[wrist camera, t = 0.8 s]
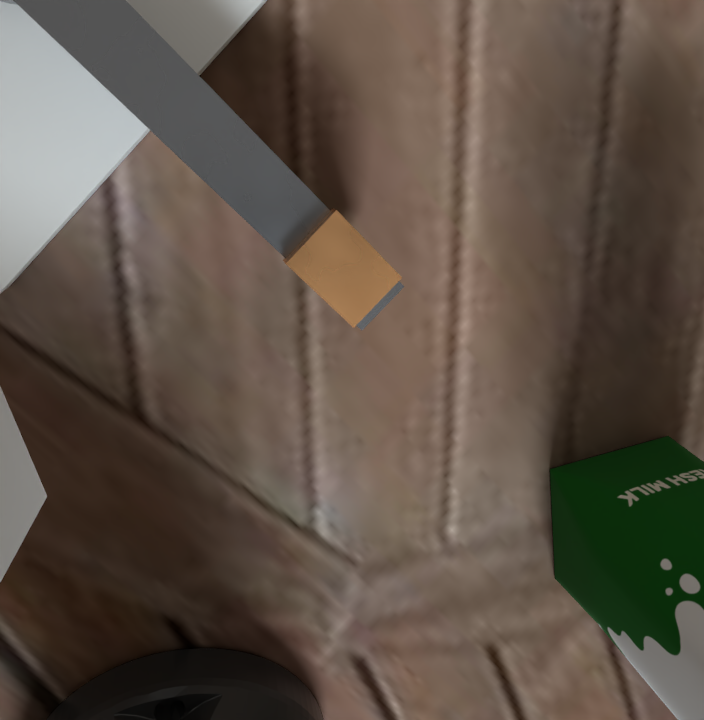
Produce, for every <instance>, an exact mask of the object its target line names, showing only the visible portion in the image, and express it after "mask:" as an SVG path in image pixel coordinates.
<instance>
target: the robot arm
mask: <svg viewBox="0 0 704 720" xmlns="http://www.w3.org/2000/svg"><path fill="white" fill-rule="evenodd" d="M46 498H47V494H46V492H45V490H44V487H43V485H42V483H41V480H40V478H39V476H38V473H37V471H36V469H35V466H34V464H33V462H32V459H31V457H30V455H29V452H28V450H27V448H26V445H25V443H24V441H23V438H22V436H21V434H20V431H19V429H18V427H17V424H16V422H15V419H14V417H13V415H12V412H11V410H10V408H9V405H8V403H7V401H6V398H5V396H4V394H3V391H2V389H1V387H0V582H1V581H2V579H3V577H4V575H5V573H6V571H7V570H8V568H9V566H10V564H11V562H12V560H13V559H14V557H15V555H16V553H17V551H18V549H19V548H20V546H21V544H22V542H23V540H24V538H25V536H26V535H27V533H28V531H29V529H30V527H31V525H32V524H33V522H34V520H35V518H36V516H37V514H38V513H39V511H40V509H41V507H42V505H43V503H44V502H45V500H46ZM46 720H323V716H322V713H321V710H320V708H319V706H318V703H317V702H316V700H315V698H314V696H313V695H312V694H311V692H310V691H309V689H308V688H307V687H306V686H305V685H304V684H303V683H302V682H301V681H300V680H299V679H298V678H297V677H295V676H294V675H293V674H292V673H290V672H289V671H287V670H286V669H284V668H283V667H281V666H279V665H277V664H275V663H273V662H271V661H269V660H266V659H264V658H261V657H258V656H255V655H251V654H248V653H244V652H239V651H233V650H225V649H213V648H197V649H183V650H175V651H169V652H163V653H158V654H154V655H150V656H146V657H143V658H139V659H137V660H134V661H131V662H128V663H125V664H123V665H121V666H118V667H116V668H114V669H112V670H109V671H107V672H105V673H103V674H102V675H100V676H98V677H96V678H94V679H93V680H91V681H90V682H88V683H86V684H85V685H83V686H82V687H81V688H79V689H78V690H76V691H75V692H74V693H72V694H71V695H70V696H69V697H68V698H66V699H65V700H64V701H63V702H62V703H61V704H60V705H59V706H58V707H57V708H56V709H55V710H54V711H53V712H52V713H51V714H50V716H49V717H48V718H47V719H46Z"/></svg>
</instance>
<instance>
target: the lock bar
mask: <svg viewBox="0 0 704 720" xmlns="http://www.w3.org/2000/svg"><path fill="white" fill-rule="evenodd" d="M0 1H2V2H5V3H9V4H17V5H19V6H20V7H21V8H22V9H23V10H24V11H25V12H26V13H27V14H28V15H29V16H30V17H31V18H32V19H33V20H34V21H36V22H37V23H38V24H39V25H40V26H41V27H42V28H43V29H44V30H45V31H46V32H47V33H48V34H49V35H50V36H51V37H52V38H53V39H55V40H56V41H57V42H58V43H59V44H60V45H61V46H62V47H63V48H64V49H65V50H66V51H67V52H68V53H69V54H70V55H71V56H73V57H74V58H75V59H76V60H77V61H78V62H79V63H80V64H81V65H82V66H83V67H84V68H85V69H86V70H87V71H88V72H89V73H90V74H92V75H93V76H94V77H95V78H96V79H97V80H98V81H99V82H100V83H101V84H102V85H103V86H104V87H105V88H106V89H107V90H108V91H109V92H111V93H112V94H113V95H114V96H115V97H116V98H117V99H118V100H119V101H120V102H121V103H122V104H123V105H124V106H125V107H126V108H127V109H128V110H130V111H131V112H132V113H133V114H134V115H135V116H136V117H137V118H138V119H139V120H140V121H141V122H142V123H143V124H144V125H145V126H146V127H148V128H149V129H150V130H151V131H152V132H153V133H154V134H155V135H156V136H157V137H158V138H159V139H160V140H161V141H162V142H163V143H164V144H165V145H167V146H168V147H169V148H170V149H171V150H172V151H173V152H174V153H175V154H176V155H177V156H178V157H179V158H180V159H181V160H182V161H183V162H184V163H186V164H187V165H188V166H189V167H190V168H191V169H192V170H193V171H194V172H195V173H196V174H197V175H198V176H199V177H200V178H201V179H202V180H203V181H205V182H206V183H207V184H208V185H209V186H210V187H211V188H212V189H213V190H214V191H215V192H216V193H217V194H218V195H219V196H220V197H221V198H223V199H224V200H225V201H226V202H227V203H228V204H229V205H230V206H231V207H232V208H233V209H234V210H235V211H236V212H237V213H238V214H239V215H240V216H242V217H243V218H244V219H245V220H246V221H247V222H248V223H249V224H250V225H251V226H252V227H253V228H254V229H255V230H256V231H257V232H258V233H259V234H261V235H262V236H263V237H264V238H265V239H266V240H267V241H268V242H269V243H270V244H271V245H272V246H273V247H274V248H275V249H276V250H277V251H278V252H280V253H281V254H282V255H283V256H284V257H285V259H284V260H283V261H284V262H285V264H286V265H288V266H289V267H290V268H291V269H292V270H293V271H294V272H295V273H296V274H297V275H298V276H299V277H300V278H301V279H302V280H303V281H304V282H306V283H307V284H308V285H309V286H310V287H311V288H312V289H313V290H314V291H315V292H316V293H317V294H318V295H319V296H320V297H321V298H323V299H324V300H325V301H326V302H327V303H328V304H329V305H330V306H331V307H332V308H333V309H334V310H335V311H336V312H337V313H338V314H340V315H341V316H342V317H343V318H344V319H345V320H346V321H347V322H348V323H349V324H350V325H351V326H352V327H353V328H354V327H355V326H356V325H357V326H358V327H359V328H360V329H361V330H363V329H364V328H365V327H366V326H367V325H368V324H369V323H370V321H371V320H372V319H373V318H374V317H375V316H376V315H377V314H378V313H379V312H380V311H381V310H382V309H383V308H384V307H385V306H386V305H387V304H388V303H389V302H390V301H391V300H392V299H393V298H394V297H395V296H396V295H397V294H398V293H399V292H400V290H401V289H402V288H403V287H404V286H403V285H402V284H401V283H400V282H399V280H400V279H401V278H402V277H401V276H400V275H399V274H398V273H397V272H396V271H395V270H394V269H393V268H392V267H391V266H390V265H389V264H388V263H387V262H386V261H385V260H384V259H383V258H382V257H381V256H380V254H379V253H378V252H377V251H376V250H375V249H374V248H373V247H372V246H371V245H370V244H369V243H368V242H367V241H366V240H365V239H364V238H363V237H362V236H361V235H360V234H359V233H358V232H357V231H356V230H355V229H354V228H353V227H352V226H351V224H350V223H349V222H348V221H347V220H346V219H345V218H344V217H343V216H342V215H341V214H340V213H339V212H338V211H337V210H335V209H333V208H332V209H331V210H329V209H328V208H327V207H326V206H325V205H324V204H323V203H322V202H321V201H320V200H319V198H318V197H317V196H316V195H315V194H314V193H313V192H312V191H311V190H310V189H309V188H308V187H307V186H306V185H305V184H304V183H303V182H302V181H301V180H300V179H299V178H298V177H297V176H296V175H295V174H294V173H293V172H292V171H291V170H290V169H289V168H288V167H287V166H286V165H285V164H284V162H283V161H282V160H281V159H280V158H279V157H278V156H277V155H276V154H275V153H274V152H273V151H272V150H271V149H270V148H269V147H268V146H267V145H266V144H265V143H264V142H263V141H262V140H261V139H260V138H259V137H258V136H257V135H256V134H255V133H254V132H253V131H252V130H251V129H250V128H249V126H248V125H247V124H246V123H245V122H244V121H243V120H242V119H241V118H240V117H239V116H238V115H237V114H236V113H235V112H234V111H233V110H232V109H231V108H230V107H229V106H228V105H227V104H226V103H225V102H224V101H223V100H222V99H221V98H220V97H219V96H218V95H217V94H216V93H215V92H214V90H213V89H212V88H211V87H210V86H209V85H208V84H207V83H206V82H205V81H204V80H203V79H202V78H201V77H200V76H199V75H198V74H197V73H196V72H195V71H194V70H193V69H192V68H191V67H190V66H189V65H188V64H187V63H186V62H185V61H184V60H183V59H182V58H181V57H180V56H179V54H178V53H177V52H176V51H175V50H174V49H173V48H172V47H171V46H170V45H169V44H168V43H167V42H166V41H165V40H164V39H163V38H162V37H161V36H160V35H159V34H158V33H157V32H156V31H155V30H154V29H153V28H152V27H151V26H150V25H149V24H148V23H147V22H146V21H145V20H144V19H143V17H142V16H141V15H140V14H139V13H138V12H137V11H136V10H135V9H134V8H133V7H132V6H131V5H130V4H129V3H128V2H127V1H126V0H0Z"/></svg>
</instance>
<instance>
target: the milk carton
mask: <svg viewBox="0 0 704 720" xmlns="http://www.w3.org/2000/svg"><path fill="white" fill-rule="evenodd" d="M550 481H551V503H552V525H553V547H554V569H555V579H556V580H557V581H558V582H559V583H560V584H561V585H562V586H563V587H564V588H565V589H566V590H567V591H568V593H569V594H570V595H571V596H572V597H573V598H574V599H575V600H576V601H577V602H578V603H579V604H580V605H581V606H582V607H583V609H584V610H585V611H586V612H587V613H588V614H589V615H590V616H591V617H592V618H593V619H594V620H595V621H596V622H597V623H598V624H599V626H600V627H601V628H602V629H603V630H604V632H605V633H606V634H607V635H608V637H609V638H610V639H611V640H612V641H613V643H614V644H615V645H616V646H617V647H618V649H619V650H620V651H621V652H622V653H623V655H624V656H625V657H626V658H627V659H628V661H629V662H630V663H631V664H632V665H633V667H634V668H635V669H636V670H637V671H638V673H639V674H640V675H641V676H642V677H643V679H644V680H645V681H646V682H647V683H648V684H649V686H650V687H651V688H652V689H653V690H654V692H655V693H656V694H657V695H658V696H659V698H660V699H661V700H662V701H663V702H664V704H665V705H666V706H667V707H668V708H669V710H670V711H671V712H672V713H673V714H674V716H675V717H676V718H677V719H678V720H704V462H703V461H702V460H700V459H699V458H697V457H696V456H695V455H693V454H692V453H691V452H689V451H688V450H687V449H685V448H684V447H683V446H681V445H680V444H678V443H677V442H676V441H674V440H673V439H672V438H670V437H669V436H666V437H663V438H659V439H656V440H652V441H649V442H645V443H642V444H638V445H634V446H631V447H627V448H624V449H620V450H617V451H613V452H609V453H606V454H602V455H599V456H595V457H592V458H588V459H585V460H581V461H577V462H574V463H570V464H567V465H563V466H560V467H556V468H553V469H550Z"/></svg>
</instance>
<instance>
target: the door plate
mask: <svg viewBox="0 0 704 720" xmlns="http://www.w3.org/2000/svg"><path fill="white" fill-rule="evenodd" d="M126 1H127V2H128V3H129V4H130V5H131V6H132V7H133V8H134V9H135V10H136V11H137V12H138V13H139V14H140V15H141V16H142V17H143V19H144V20H145V21H146V22H147V23H148V24H149V25H150V26H151V27H152V28H153V29H154V30H155V31H156V32H157V33H158V34H159V35H160V36H161V37H162V38H163V39H164V40H165V41H166V42H167V43H168V44H169V45H170V46H171V47H172V48H173V49H174V50H175V51H176V52H177V53H178V54H179V56H180V57H181V58H182V59H183V60H184V61H185V62H186V63H187V64H188V65H189V66H190V67H191V68H192V69H193V70H194V71H195V72H196V73H197V74H198V75H199V76H200V75H201V74H202V72H203V71H204V70H205V69H206V68H207V67H208V66H209V65H210V64H211V62H212V61H213V60H214V59H215V58H216V57H217V56H218V55H219V54H220V52H221V51H222V50H223V49H224V48H225V47H226V46H227V45H228V44H229V42H230V41H231V40H232V39H233V38H234V37H235V36H236V35H237V34H238V32H239V31H240V30H241V29H242V28H243V27H244V26H245V25H246V24H247V22H248V21H249V20H250V19H251V18H252V17H253V16H254V15H255V14H256V12H257V11H258V10H259V9H260V8H261V7H262V6H263V5H264V4H265V2H266V1H267V0H126ZM149 131H150V129H149V128H148V127H146V126H145V125H144V124H143V123H142V122H141V121H140V120H139V119H138V118H137V117H136V116H135V115H134V114H133V113H132V112H131V111H130V110H128V109H127V108H126V107H125V106H124V105H123V104H122V103H121V102H120V101H119V100H118V99H117V98H116V97H115V96H114V95H113V94H112V93H111V92H109V91H108V90H107V89H106V88H105V87H104V86H103V85H102V84H101V83H100V82H99V81H98V80H97V79H96V78H95V77H94V76H93V75H92V74H90V73H89V72H88V71H87V70H86V69H85V68H84V67H83V66H82V65H81V64H80V63H79V62H78V61H77V60H76V59H75V58H74V57H73V56H71V55H70V54H69V53H68V52H67V51H66V50H65V49H64V48H63V47H62V46H61V45H60V44H59V43H58V42H57V41H56V40H55V39H53V38H52V37H51V36H50V35H49V34H48V33H47V32H46V31H45V30H44V29H43V28H42V27H41V26H40V25H39V24H38V23H37V22H36V21H34V20H33V19H32V18H31V17H30V16H29V15H28V14H27V13H26V12H25V11H24V10H23V9H22V8H21V7H20V6H19V5H17V4H9V3H5V2H2V1H0V293H2V292H3V291H4V290H6V289H7V288H8V287H10V285H11V284H12V283H13V282H14V281H15V280H16V279H17V278H18V277H19V276H20V274H21V273H22V272H23V271H24V270H25V269H26V268H27V267H28V266H29V264H30V263H31V262H32V261H33V260H34V259H35V258H36V257H37V256H38V254H39V253H40V252H41V251H42V250H43V249H44V248H45V247H46V246H47V244H48V243H49V242H50V241H51V240H52V239H53V238H54V237H55V236H56V234H57V233H58V232H59V231H60V230H61V229H62V228H63V227H64V226H65V224H66V223H67V222H68V221H69V220H70V219H71V218H72V217H73V216H74V214H75V213H76V212H77V211H78V210H79V209H80V208H81V207H82V206H83V204H84V203H85V202H86V201H87V200H88V199H89V198H90V197H91V196H92V194H93V193H94V192H95V191H96V190H97V189H98V188H99V187H100V186H101V184H102V183H103V182H104V181H105V180H106V179H107V178H108V177H109V176H110V175H111V173H112V172H113V171H114V170H115V169H116V168H117V167H118V166H119V165H120V163H121V162H122V161H123V160H124V159H125V158H126V157H127V156H128V155H129V153H130V152H131V151H132V150H133V149H134V148H135V147H136V146H137V145H138V143H139V142H140V141H141V140H142V139H143V138H144V137H145V136H146V135H147V133H148V132H149Z"/></svg>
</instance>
